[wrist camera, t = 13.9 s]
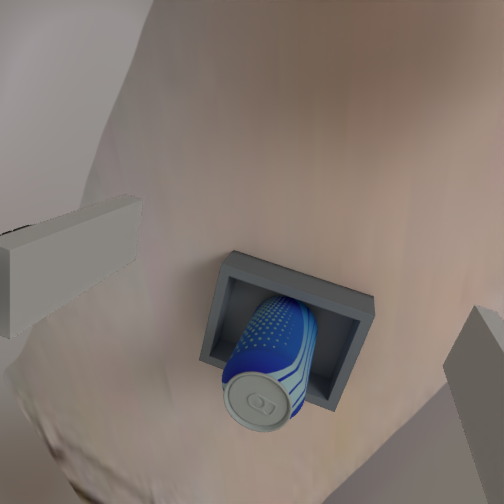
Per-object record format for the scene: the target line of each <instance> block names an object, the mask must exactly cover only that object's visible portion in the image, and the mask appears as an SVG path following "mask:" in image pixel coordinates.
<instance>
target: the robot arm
mask: <svg viewBox="0 0 504 504" xmlns="http://www.w3.org/2000/svg"><path fill="white" fill-rule="evenodd" d="M142 207H143V199H141V198H138V197H135V196H132V195H129V194H125V195H122V196H119V197H116V198H113V199H110V200H107V201H104V202H101V203H98V204H95V205H92V206H89V207H86V208H83V209H80V210H77V211H74V212H71V213H68V214H65V215H62V216H59V217H56V218H53V219H50V220H47V221H44V222H41V223H38V224H34V225H26V226H23V227H20V228H17V229H14V230H13V231H8V232H5V233H2V235H0V336H3V337H6V338H8V339H11V338H13V337H14V336H16V335H18V334H19V333H21V332H22V331H24V330H26V329H27V328H29V327H30V326H32V325H33V324H35V323H37V322H38V321H40V320H41V319H43V318H44V317H46V316H48V315H49V314H51V313H52V312H54V311H55V310H57V309H59V308H60V307H62V306H63V305H65V304H66V303H68V302H70V301H71V300H73V299H74V298H76V297H77V296H79V295H81V294H82V293H84V292H85V291H87V290H88V289H90V288H92V287H93V286H95V285H96V284H98V283H99V282H101V281H103V280H104V279H106V278H107V277H109V276H110V275H112V274H113V273H115V272H117V271H118V270H120V269H121V268H123V267H124V266H126V265H128V264H129V263H131V262H132V261H134V260H135V259H136V251H137V244H138V236H139V229H140V221H141V214H142ZM443 369H444V372H445V375H446V378H447V381H448V384H449V387H450V390H451V393H452V396H453V399H454V402H455V405H456V408H457V411H458V414H459V417H460V420H461V423H462V426H463V429H464V432H465V435H466V438H467V441H468V444H469V447H470V450H471V453H472V456H473V459H474V462H475V465H476V468H477V471H478V474H479V477H480V480H481V483H482V487H483V490H484V493H485V495H486V499H487V502H488V504H504V321H503V320H502V318H501V317H500V315H499V314H498V312H496V311H493V310H490V309H487V308H483V307H480V306H477V305H474V307H473V309H472V311H471V313H470V315H469V317H468V319H467V320H466V322H465V324H464V326H463V328H462V330H461V332H460V334H459V336H458V338H457V339H456V341H455V343H454V345H453V347H452V349H451V351H450V353H449V355H448V357H447V358H446V360H445V362H444V364H443Z"/></svg>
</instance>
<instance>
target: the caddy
mask: <svg viewBox="0 0 504 504" xmlns="http://www.w3.org/2000/svg"><path fill="white" fill-rule="evenodd" d="M276 296H287V297H292V298H295V299H297V300H299V301H301V302H303V303H304V304H305V305H306V306H307V307H308V308H309V309H310V310H311V311H312V312H313V314H314V316H315V318H316V321H317V326H318V332H317V338H316V343H315V348H314V353H313V359H312V364H311V369H310V374H309V379H308V385H307V390H306V395H305V401H307V402H310V403H312V404H315V405H318V406H320V407H323V408H326V409H328V410H331V411H333V412H335V409H336V407H337V405H338V402H339V400H340V398H341V395H342V393H343V391H344V388H345V386H346V383H347V381H348V379H349V376H350V374H351V372H352V369H353V367H354V364H355V362H356V360H357V357H358V355H359V353H360V350H361V348H362V346H363V343H364V341H365V338H366V336H367V334H368V331H369V329H370V327H371V324H372V322H373V319H374V317H375V308H374V296H370V295H367V294H364V293H361V292H358V291H355V290H352V289H349V288H346V287H343V286H340V285H337V284H334V283H331V282H328V281H325V280H322V279H319V278H316V277H313V276H310V275H307V274H304V273H301V272H298V271H295V270H292V269H289V268H286V267H283V266H280V265H277V264H274V263H271V262H268V261H265V260H262V259H259V258H256V257H253V256H250V255H247V254H244V253H241V252H238V251H235V250H234V251H233V252H232V253H231V254H230V255H229V256H228V257H227V258H226V259H225V260H224V261H223V262H222V264H221V268H220V272H219V276H218V280H217V285H216V289H215V293H214V298H213V302H212V306H211V311H210V315H209V319H208V323H207V328H206V332H205V336H204V341H203V345H202V349H201V353H200V358H199V360H200V361H202V362H205V363H208V364H210V365H213V366H216V367H218V368H221V369H223V370H224V368H225V366H226V364H227V362H228V360H229V358H230V357H231V355H232V353H233V351H234V349H235V347H236V345H237V343H238V342H239V340H240V338H241V336H242V334H243V332H244V330H245V329H246V327H247V325H248V323H249V321H250V319H251V317H252V316H253V314H254V312H255V310H256V308H257V307H258V306H259V305H260V304H261V303H262V302H263V301H265V300H267V299H269V298H271V297H276Z"/></svg>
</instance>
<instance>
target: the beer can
mask: <svg viewBox="0 0 504 504" xmlns="http://www.w3.org/2000/svg"><path fill="white" fill-rule="evenodd" d="M317 332H318V326H317V321H316V318H315V316H314V314H313V312H312V311H311V310H310V309H309V308H308V307H307V306H306V305H305V304H304V303H303V302H301V301H299V300H297V299H295V298H292V297H287V296H276V297H271V298H269V299H267V300H265V301H263V302H262V303H261V304H260V305H259V306H258V307H257V308H256V310H255V312H254V314H253V316H252V317H251V319H250V321H249V323H248V325H247V327H246V329H245V330H244V332H243V334H242V336H241V338H240V340H239V342H238V343H237V345H236V347H235V349H234V351H233V353H232V355H231V357H230V358H229V360H228V362H227V364H226V366H225V368H224V371H223V375H222V387H223V391H224V395H223V397H224V404H225V407H226V409H227V411H228V413H229V414H230V415H231V417H232V418H233V419H234V420H235V421H236V422H238V423H239V424H240V425H242V426H244V427H246V428H248V429H250V430H254V431H258V432H271V431H275V430H277V429H280V428H281V427H283V426H284V425H285V424H286V423H287V422H288V420H289V419H291V418H292V417H293V416H295V415H296V414H297V413H298V411H299V410H300V409H301V407H302V405H303V403H304V400H305V395H306V390H307V385H308V379H309V374H310V369H311V364H312V359H313V353H314V348H315V343H316V338H317Z"/></svg>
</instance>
